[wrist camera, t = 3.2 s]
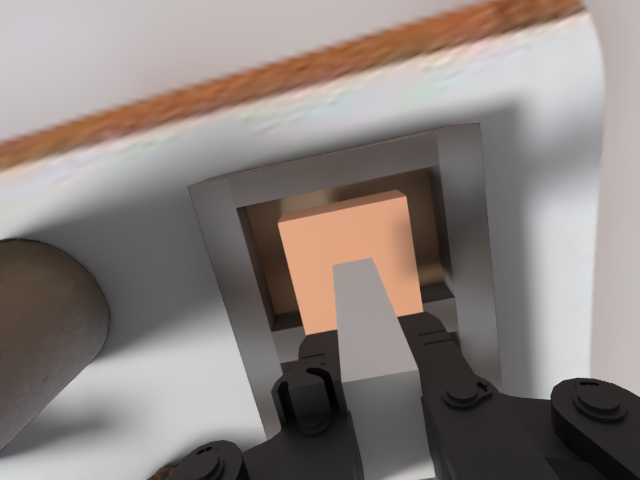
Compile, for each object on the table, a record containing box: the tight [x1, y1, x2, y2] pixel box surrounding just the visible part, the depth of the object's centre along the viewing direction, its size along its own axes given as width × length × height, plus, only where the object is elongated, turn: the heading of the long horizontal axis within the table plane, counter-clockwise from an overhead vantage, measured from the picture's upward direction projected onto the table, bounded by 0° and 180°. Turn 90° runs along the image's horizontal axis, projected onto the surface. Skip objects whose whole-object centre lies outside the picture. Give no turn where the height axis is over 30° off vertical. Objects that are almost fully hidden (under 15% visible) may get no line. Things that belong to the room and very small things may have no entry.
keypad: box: [188, 123, 502, 480], centre depth 22 cm, size 28×14×4 cm, turn 12°
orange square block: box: [278, 190, 423, 335], centre depth 17 cm, size 6×6×2 cm
